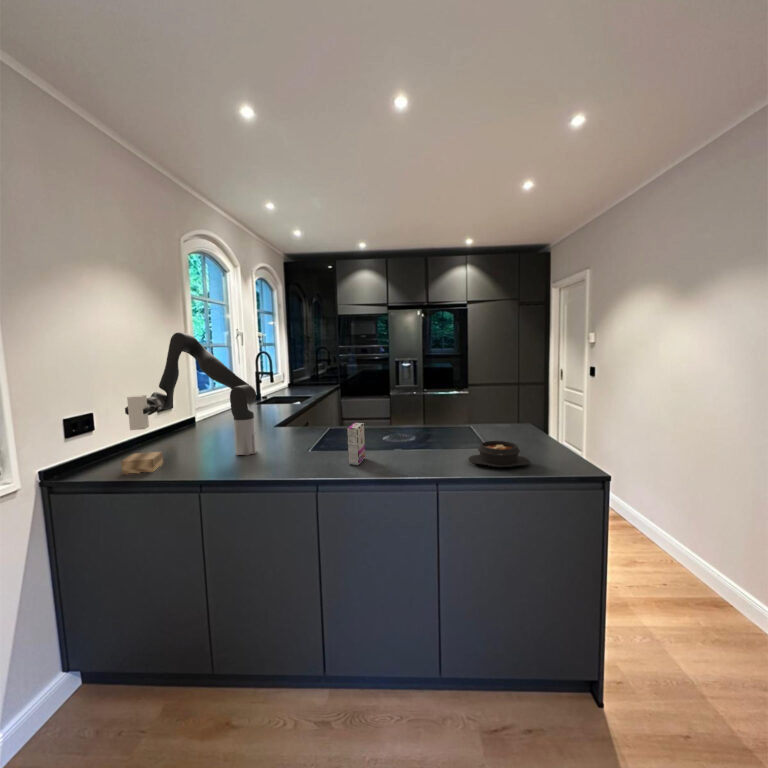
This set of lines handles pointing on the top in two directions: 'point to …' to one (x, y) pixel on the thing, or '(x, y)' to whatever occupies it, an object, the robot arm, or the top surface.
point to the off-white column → (137, 412)
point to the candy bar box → (356, 442)
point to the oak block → (142, 462)
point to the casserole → (498, 455)
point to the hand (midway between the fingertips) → (136, 412)
